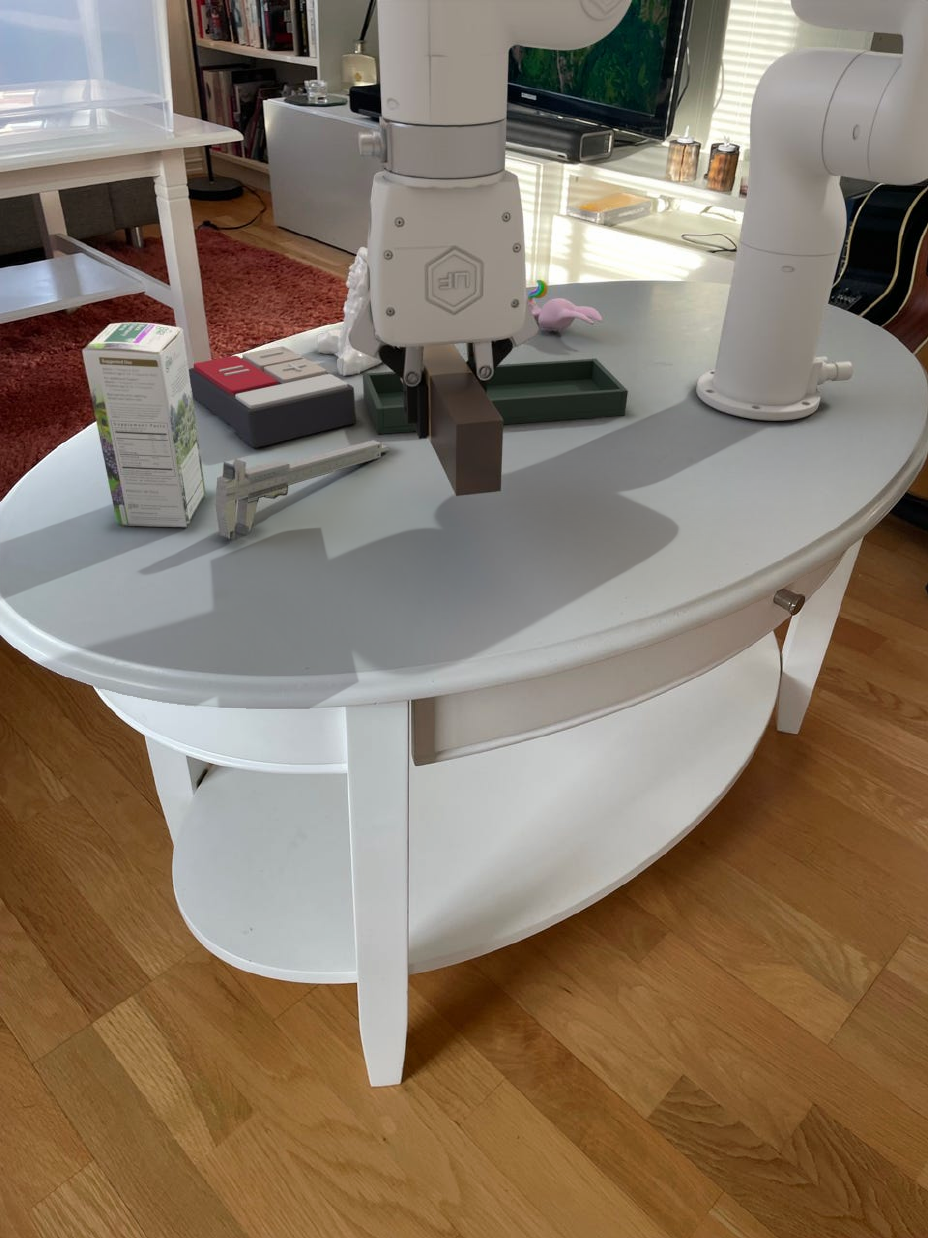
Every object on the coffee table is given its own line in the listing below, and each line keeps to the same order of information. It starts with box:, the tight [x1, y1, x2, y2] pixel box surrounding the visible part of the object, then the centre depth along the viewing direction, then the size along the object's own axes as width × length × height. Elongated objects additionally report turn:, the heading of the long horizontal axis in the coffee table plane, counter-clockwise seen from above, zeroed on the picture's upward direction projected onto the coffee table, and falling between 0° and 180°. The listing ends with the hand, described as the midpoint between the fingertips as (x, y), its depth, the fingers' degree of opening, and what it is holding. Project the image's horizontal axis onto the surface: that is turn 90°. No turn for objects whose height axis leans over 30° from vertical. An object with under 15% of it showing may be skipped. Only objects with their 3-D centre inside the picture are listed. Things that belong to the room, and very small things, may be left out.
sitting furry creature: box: [316, 246, 383, 377], centre depth 102 cm, size 10×9×12 cm
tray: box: [362, 358, 629, 435], centre depth 94 cm, size 25×9×3 cm, turn 103°
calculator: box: [188, 345, 357, 448], centre depth 92 cm, size 11×4×15 cm
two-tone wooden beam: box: [401, 344, 504, 497], centre depth 66 cm, size 3×20×5 cm, turn 13°
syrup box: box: [81, 322, 206, 528], centre depth 72 cm, size 6×6×14 cm
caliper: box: [214, 439, 391, 541], centre depth 77 cm, size 20×1×6 cm, turn 147°
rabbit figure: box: [526, 279, 603, 332], centre depth 113 cm, size 6×6×15 cm
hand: (445, 426), depth 68 cm, fingers closed on two-tone wooden beam, 3 cm apart
